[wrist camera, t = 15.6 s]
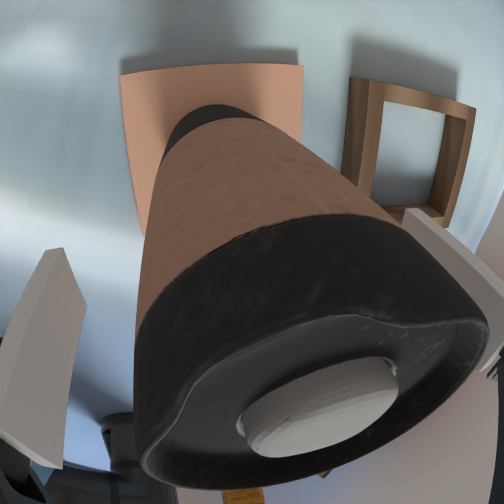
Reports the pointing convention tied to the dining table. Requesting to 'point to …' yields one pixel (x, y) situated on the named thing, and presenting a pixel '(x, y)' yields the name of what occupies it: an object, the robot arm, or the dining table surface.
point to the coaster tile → (195, 96)
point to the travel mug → (282, 314)
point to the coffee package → (243, 496)
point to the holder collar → (368, 134)
